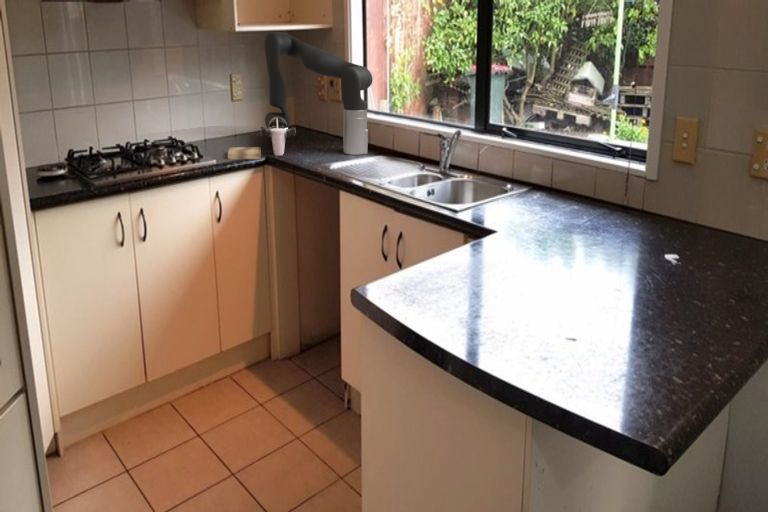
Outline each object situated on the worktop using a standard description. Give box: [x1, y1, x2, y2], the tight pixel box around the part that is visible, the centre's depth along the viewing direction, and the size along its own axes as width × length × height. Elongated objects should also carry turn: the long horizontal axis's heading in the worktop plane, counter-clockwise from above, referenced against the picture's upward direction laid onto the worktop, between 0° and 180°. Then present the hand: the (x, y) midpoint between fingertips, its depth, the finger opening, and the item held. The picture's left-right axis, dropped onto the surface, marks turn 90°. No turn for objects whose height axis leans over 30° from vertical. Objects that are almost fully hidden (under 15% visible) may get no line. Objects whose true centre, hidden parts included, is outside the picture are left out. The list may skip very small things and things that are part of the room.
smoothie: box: [270, 118, 287, 156], centre depth 274 cm, size 6×6×14 cm
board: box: [227, 146, 262, 160], centre depth 273 cm, size 12×12×2 cm
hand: (278, 134), depth 272 cm, fingers closed on smoothie, 6 cm apart
